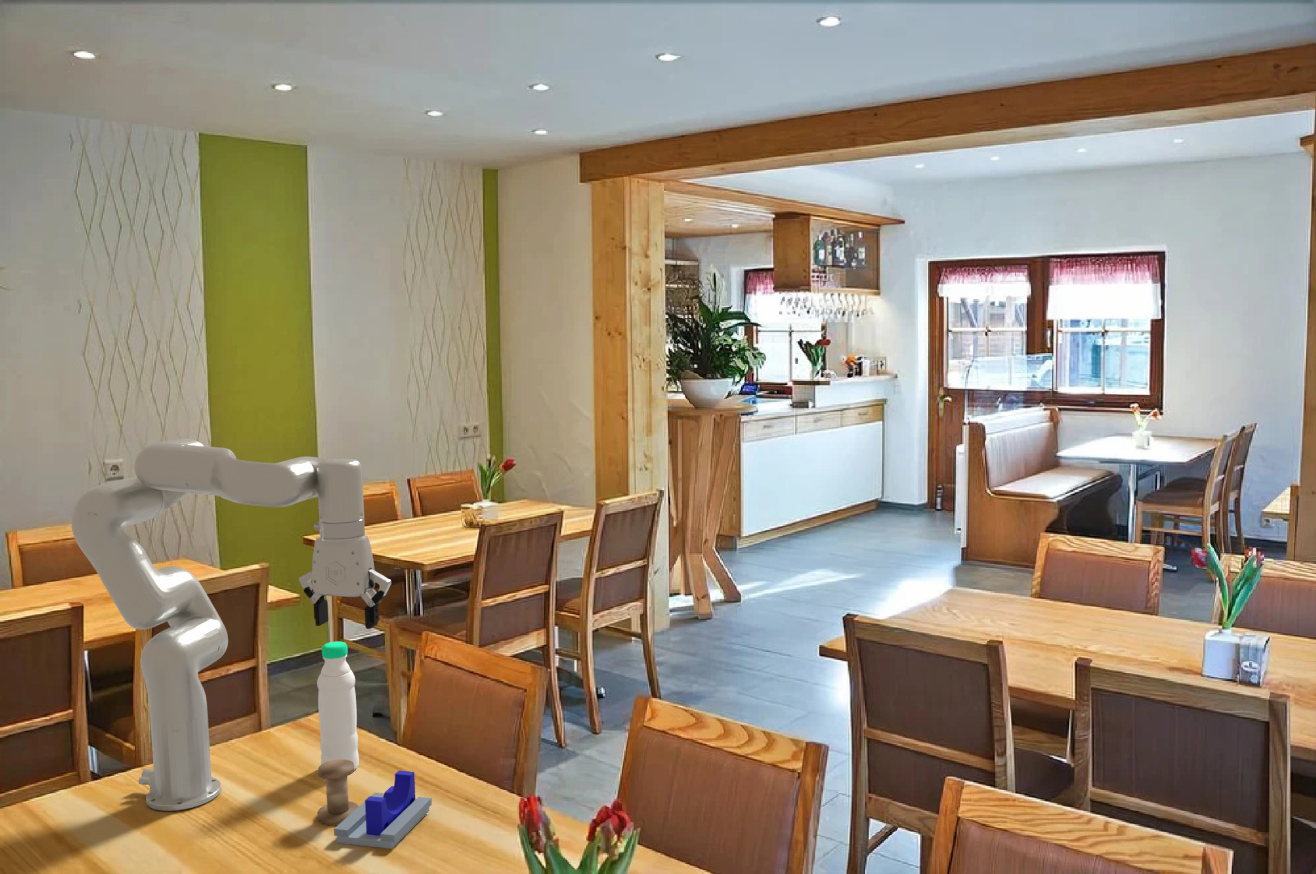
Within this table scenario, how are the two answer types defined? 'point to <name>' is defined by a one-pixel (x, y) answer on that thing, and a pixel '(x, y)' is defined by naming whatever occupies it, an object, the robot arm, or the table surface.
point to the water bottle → (337, 706)
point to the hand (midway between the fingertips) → (346, 625)
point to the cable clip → (390, 803)
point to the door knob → (336, 791)
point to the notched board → (355, 829)
